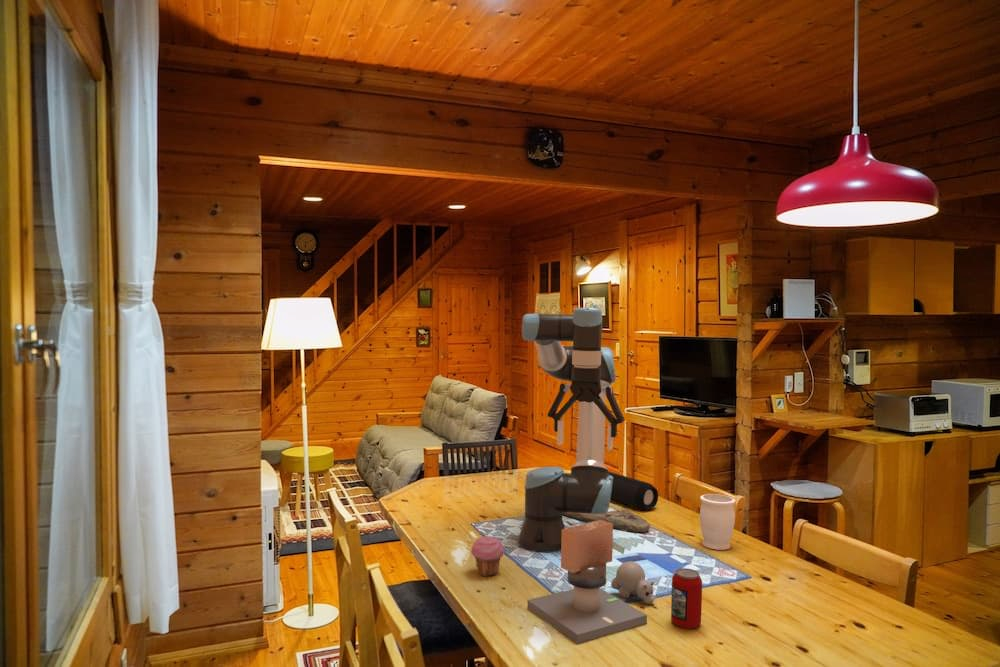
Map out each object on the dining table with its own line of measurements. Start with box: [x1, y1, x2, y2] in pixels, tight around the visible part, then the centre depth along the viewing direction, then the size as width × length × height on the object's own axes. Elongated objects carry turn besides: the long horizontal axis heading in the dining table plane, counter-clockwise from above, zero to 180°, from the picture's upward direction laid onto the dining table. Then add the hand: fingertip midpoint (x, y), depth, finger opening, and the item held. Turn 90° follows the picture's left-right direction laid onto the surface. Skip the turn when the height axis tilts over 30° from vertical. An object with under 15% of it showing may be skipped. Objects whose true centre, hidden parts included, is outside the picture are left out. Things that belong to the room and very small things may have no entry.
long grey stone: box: [562, 508, 651, 533], centre depth 233 cm, size 35×5×10 cm
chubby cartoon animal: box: [610, 560, 656, 605], centre depth 170 cm, size 7×12×8 cm, turn 38°
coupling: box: [560, 520, 614, 589], centre depth 160 cm, size 13×9×13 cm
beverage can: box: [670, 567, 703, 629], centre depth 157 cm, size 7×7×12 cm
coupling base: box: [527, 586, 648, 644], centre depth 160 cm, size 20×20×8 cm
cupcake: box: [471, 535, 505, 577], centre depth 185 cm, size 9×9×10 cm
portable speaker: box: [609, 471, 659, 511], centre depth 256 cm, size 26×10×10 cm, turn 35°
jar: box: [699, 493, 736, 551], centre depth 210 cm, size 11×10×15 cm
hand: (584, 446), depth 178 cm, fingers open, 13 cm apart
